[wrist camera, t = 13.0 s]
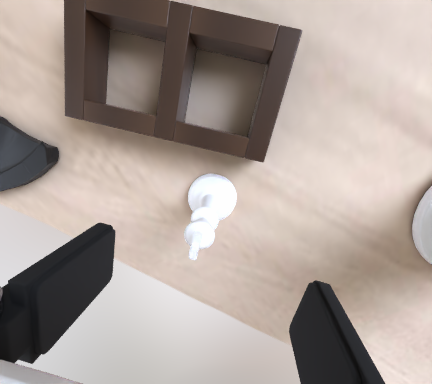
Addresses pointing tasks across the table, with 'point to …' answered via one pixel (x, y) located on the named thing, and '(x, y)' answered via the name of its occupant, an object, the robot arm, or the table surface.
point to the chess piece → (207, 209)
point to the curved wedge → (22, 157)
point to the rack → (174, 67)
